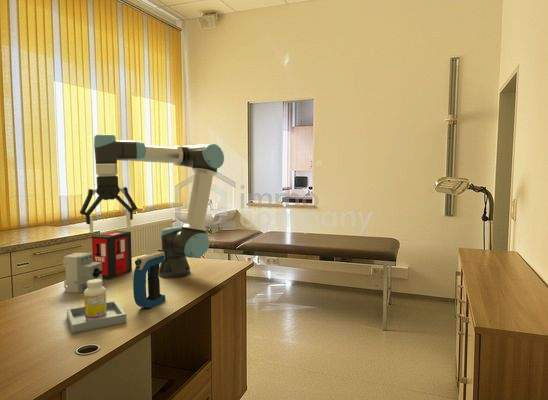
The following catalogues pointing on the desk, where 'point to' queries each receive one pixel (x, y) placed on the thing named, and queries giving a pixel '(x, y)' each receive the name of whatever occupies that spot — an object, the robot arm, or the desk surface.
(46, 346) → the desk surface
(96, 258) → the cleaning product box
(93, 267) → the circuit breaker
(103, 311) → the supplement bottle
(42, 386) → the desk surface
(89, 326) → the tray
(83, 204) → the robot arm
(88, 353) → the desk surface
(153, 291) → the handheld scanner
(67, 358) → the desk surface
